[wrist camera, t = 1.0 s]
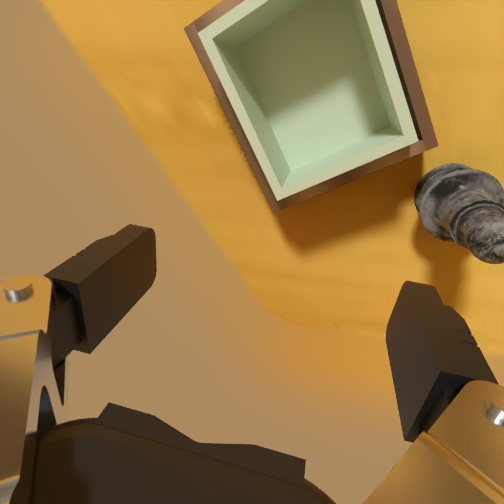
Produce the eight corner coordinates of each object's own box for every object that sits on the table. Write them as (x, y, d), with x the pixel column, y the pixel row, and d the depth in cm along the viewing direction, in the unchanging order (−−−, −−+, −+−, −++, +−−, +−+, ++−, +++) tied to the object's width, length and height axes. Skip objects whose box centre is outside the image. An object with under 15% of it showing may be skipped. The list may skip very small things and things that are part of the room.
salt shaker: (466, 232, 30) (536, 311, 20) (400, 217, 31) (434, 285, 20) (500, 168, 27) (603, 220, 17) (427, 153, 28) (482, 194, 18)
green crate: (347, -36, 23) (352, -75, 18) (400, 129, 27) (418, 141, 21) (226, 44, 27) (197, 33, 21) (287, 179, 31) (277, 200, 25)
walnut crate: (360, -71, 23) (366, -103, 19) (423, 136, 28) (438, 145, 24) (204, 36, 28) (183, 28, 24) (280, 197, 32) (273, 213, 29)
